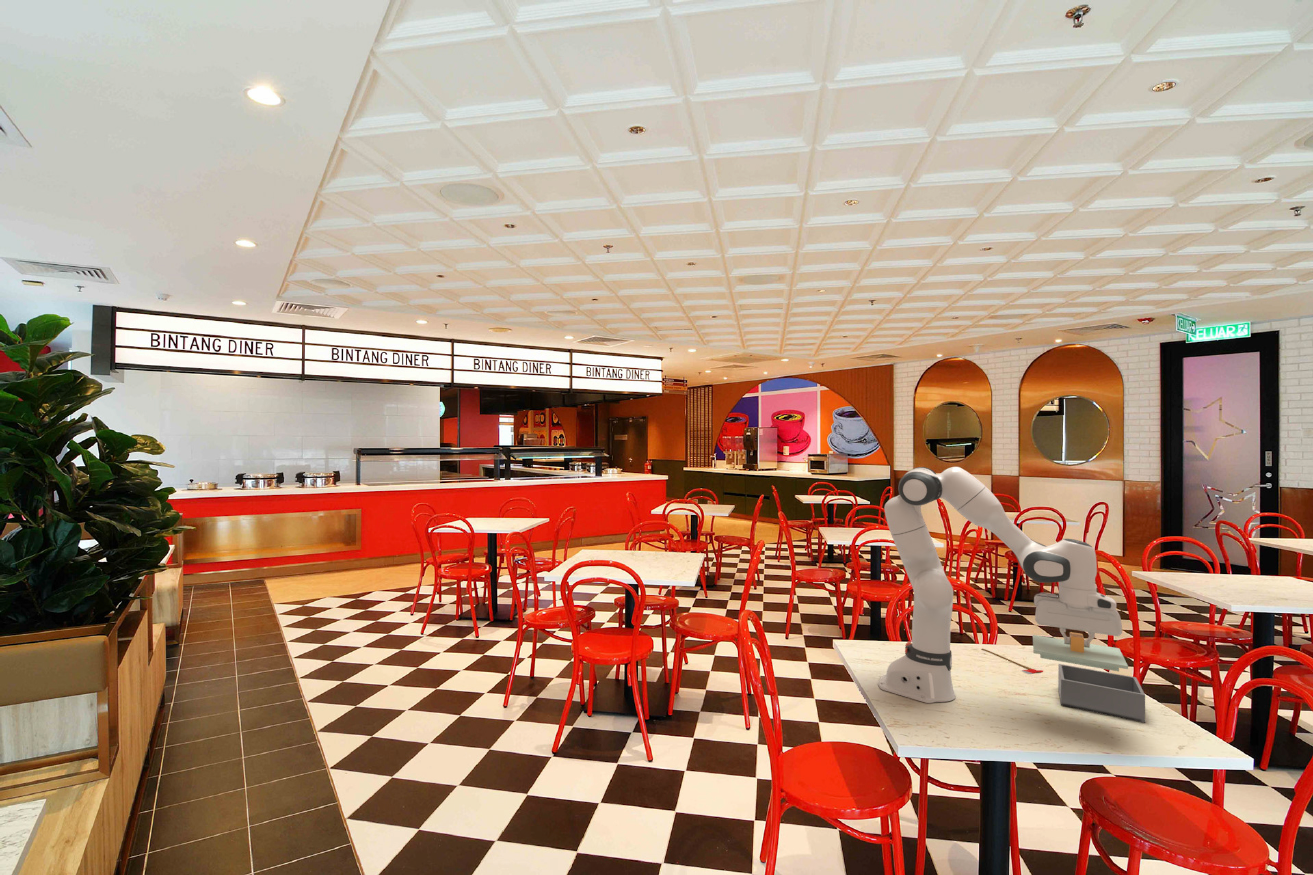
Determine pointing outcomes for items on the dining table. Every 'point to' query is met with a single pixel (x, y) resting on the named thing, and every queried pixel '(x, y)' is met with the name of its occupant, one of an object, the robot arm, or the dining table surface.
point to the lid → (1079, 652)
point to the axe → (1029, 671)
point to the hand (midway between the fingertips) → (1076, 645)
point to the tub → (1101, 692)
